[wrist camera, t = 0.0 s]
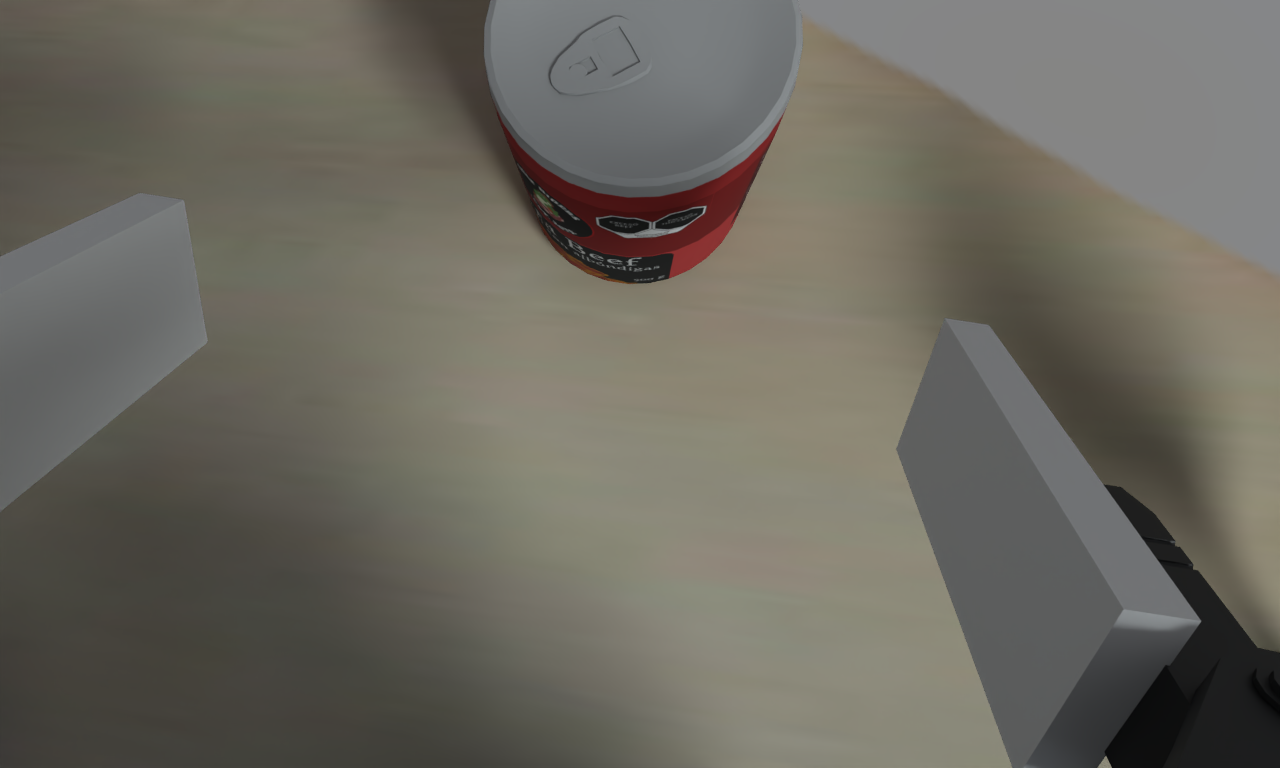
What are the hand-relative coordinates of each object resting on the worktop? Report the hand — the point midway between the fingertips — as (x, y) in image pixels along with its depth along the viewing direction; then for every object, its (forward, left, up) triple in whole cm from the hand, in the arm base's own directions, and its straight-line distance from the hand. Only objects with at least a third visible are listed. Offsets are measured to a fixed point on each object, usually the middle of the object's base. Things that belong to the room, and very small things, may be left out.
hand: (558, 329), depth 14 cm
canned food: (+8, 0, -16) cm, 17 cm away
